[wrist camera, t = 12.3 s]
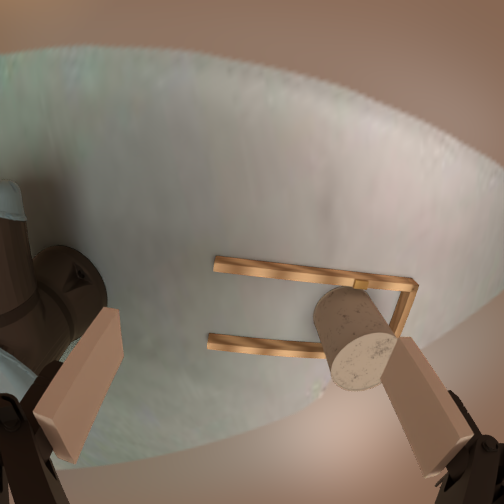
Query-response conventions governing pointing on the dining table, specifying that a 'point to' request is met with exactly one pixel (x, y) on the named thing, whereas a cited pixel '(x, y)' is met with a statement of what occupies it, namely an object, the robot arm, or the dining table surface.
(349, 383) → the speckled beige cylinder
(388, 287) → the beam frame
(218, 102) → the dining table surface
